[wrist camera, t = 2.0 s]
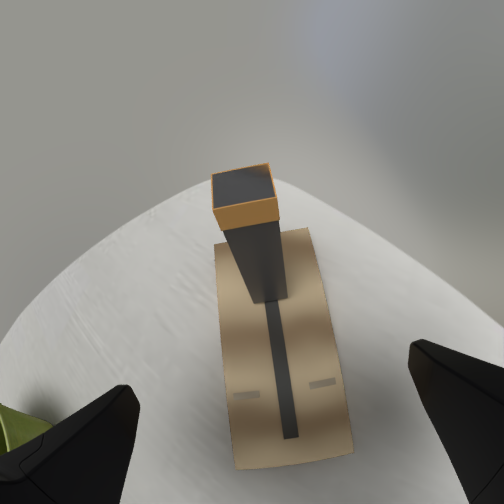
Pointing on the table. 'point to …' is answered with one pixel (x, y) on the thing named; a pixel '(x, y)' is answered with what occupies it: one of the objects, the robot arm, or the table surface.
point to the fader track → (281, 364)
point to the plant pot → (18, 428)
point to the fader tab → (252, 228)
